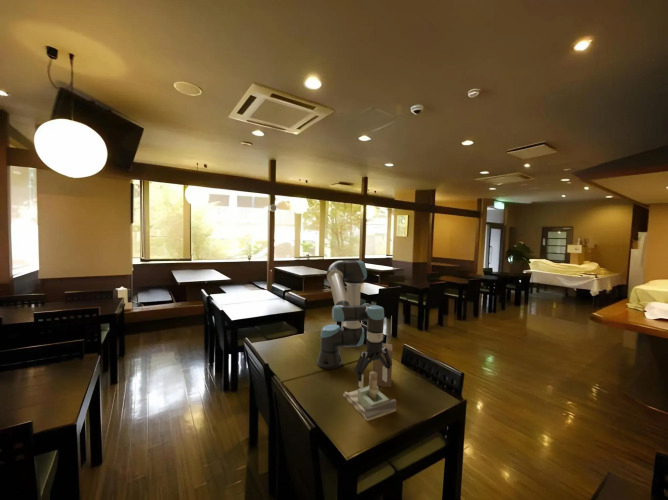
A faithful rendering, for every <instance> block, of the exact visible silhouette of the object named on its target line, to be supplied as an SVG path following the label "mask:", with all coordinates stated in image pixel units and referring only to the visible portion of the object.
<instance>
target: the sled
mask: <svg viewBox="0 0 668 500" xmlns="http://www.w3.org/2000/svg"><path fill="white" fill-rule="evenodd" d="M357 390H358V400H357V401H358V402H359V403H360V404H361V405H362V406H363V407H364V408H365V409H366V408H367V407H370V406H373V405H377V404H380V403H383V402H386V401H389V400H390V399H389V398H388V396H386V395H385V394H384V393H382V392H381V391H380V390H379V386H377V399H376V402H373V401H372V400H371V399H370V398H369V386H368V385H367V386H365V387H364V386H363V389H361V388H360V387H359V388H358V389H357Z"/></svg>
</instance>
